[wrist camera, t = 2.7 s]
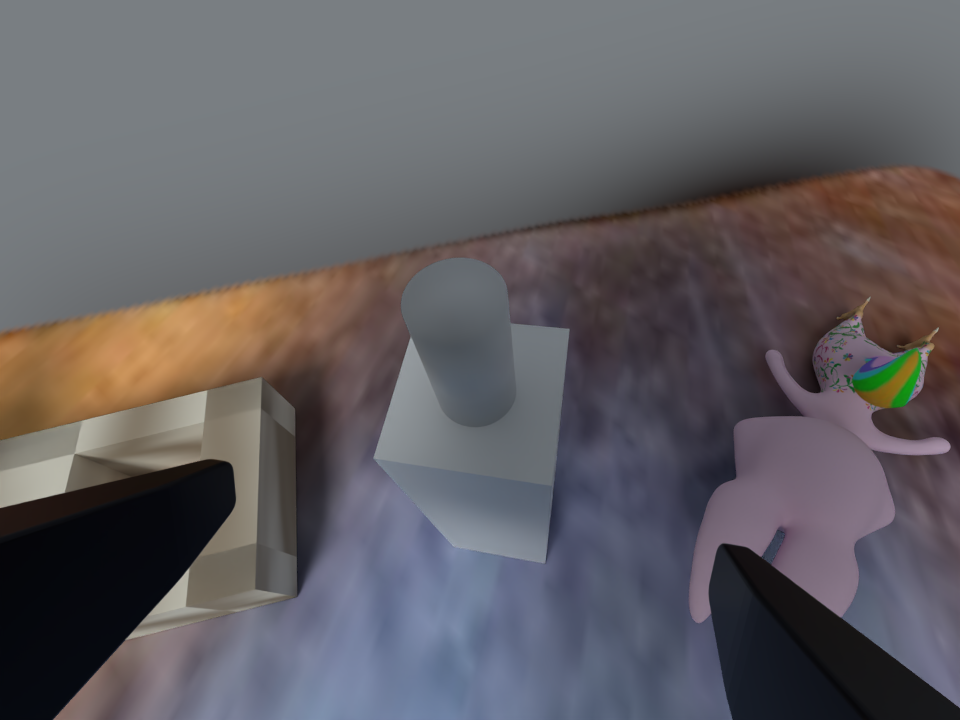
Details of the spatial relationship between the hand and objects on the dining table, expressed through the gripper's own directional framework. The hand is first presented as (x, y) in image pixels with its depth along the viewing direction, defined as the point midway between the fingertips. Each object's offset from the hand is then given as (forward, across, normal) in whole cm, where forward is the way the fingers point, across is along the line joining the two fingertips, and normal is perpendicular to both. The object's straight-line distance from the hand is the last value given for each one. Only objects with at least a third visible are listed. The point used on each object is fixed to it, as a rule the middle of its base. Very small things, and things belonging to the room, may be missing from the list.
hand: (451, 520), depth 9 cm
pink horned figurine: (+11, -10, +3) cm, 16 cm away
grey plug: (+9, 0, +5) cm, 10 cm away
